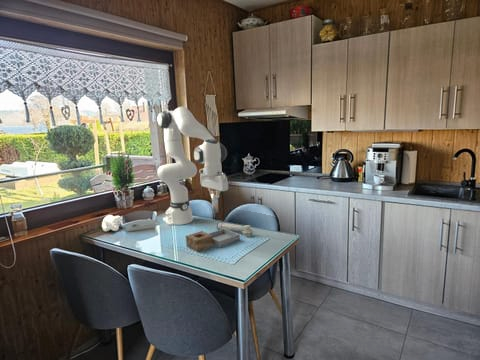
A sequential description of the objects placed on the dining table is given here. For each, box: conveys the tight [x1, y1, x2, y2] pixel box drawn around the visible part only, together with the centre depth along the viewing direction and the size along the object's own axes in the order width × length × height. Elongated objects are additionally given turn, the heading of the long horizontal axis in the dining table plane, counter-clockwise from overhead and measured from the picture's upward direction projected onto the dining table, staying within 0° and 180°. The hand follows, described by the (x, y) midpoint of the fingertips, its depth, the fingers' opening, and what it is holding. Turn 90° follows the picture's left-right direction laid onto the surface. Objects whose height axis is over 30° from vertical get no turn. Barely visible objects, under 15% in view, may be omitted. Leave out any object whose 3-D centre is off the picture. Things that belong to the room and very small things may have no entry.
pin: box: [211, 190, 219, 214], centre depth 165 cm, size 3×3×11 cm
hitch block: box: [185, 230, 214, 253], centre depth 163 cm, size 10×10×6 cm
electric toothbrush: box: [216, 222, 254, 238], centre depth 182 cm, size 5×7×25 cm
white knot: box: [101, 214, 123, 232], centre depth 195 cm, size 11×12×9 cm
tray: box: [208, 228, 241, 249], centre depth 170 cm, size 14×14×4 cm
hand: (214, 196), depth 164 cm, fingers closed on pin, 3 cm apart
